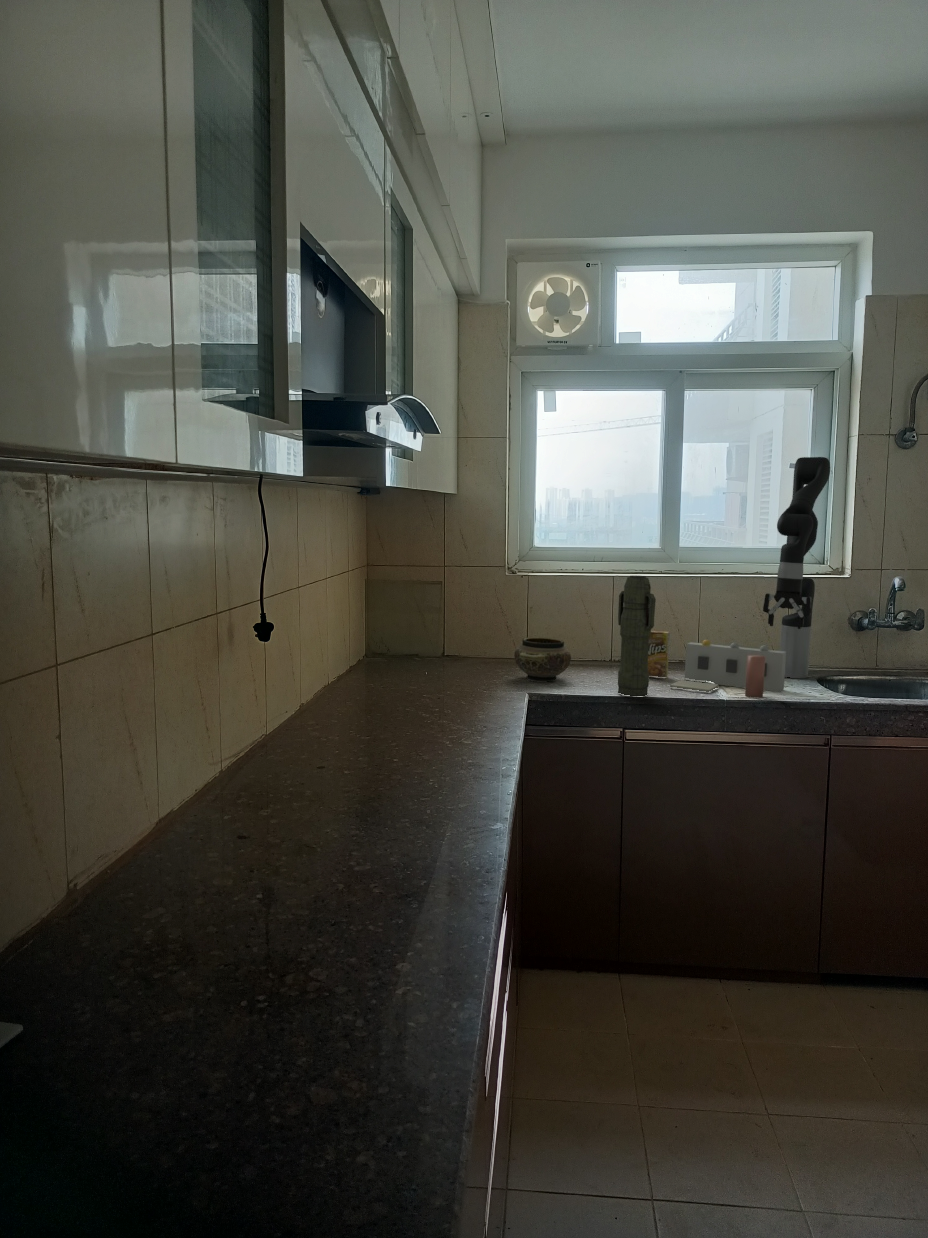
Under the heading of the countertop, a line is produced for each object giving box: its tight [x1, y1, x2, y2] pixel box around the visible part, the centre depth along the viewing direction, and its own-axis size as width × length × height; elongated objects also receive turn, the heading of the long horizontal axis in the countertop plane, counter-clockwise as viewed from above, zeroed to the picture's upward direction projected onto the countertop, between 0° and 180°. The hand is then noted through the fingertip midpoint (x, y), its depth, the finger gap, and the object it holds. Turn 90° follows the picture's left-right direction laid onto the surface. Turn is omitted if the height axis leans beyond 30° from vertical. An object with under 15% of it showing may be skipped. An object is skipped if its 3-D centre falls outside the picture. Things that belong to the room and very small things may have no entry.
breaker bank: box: [684, 639, 786, 693], centre depth 272 cm, size 6×30×14 cm, turn 57°
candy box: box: [648, 630, 671, 678], centre depth 283 cm, size 9×4×15 cm, turn 70°
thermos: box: [617, 575, 657, 697], centre depth 254 cm, size 9×12×35 cm
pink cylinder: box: [744, 655, 765, 698], centre depth 256 cm, size 5×5×12 cm
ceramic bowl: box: [513, 636, 572, 683], centre depth 275 cm, size 24×18×15 cm
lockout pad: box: [669, 679, 720, 692], centre depth 266 cm, size 10×12×1 cm
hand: (785, 627), depth 277 cm, fingers open, 8 cm apart
